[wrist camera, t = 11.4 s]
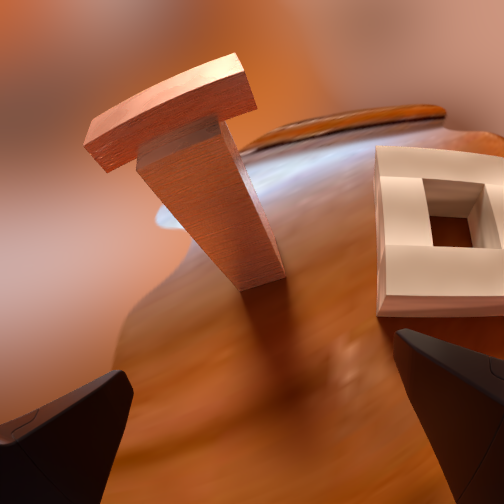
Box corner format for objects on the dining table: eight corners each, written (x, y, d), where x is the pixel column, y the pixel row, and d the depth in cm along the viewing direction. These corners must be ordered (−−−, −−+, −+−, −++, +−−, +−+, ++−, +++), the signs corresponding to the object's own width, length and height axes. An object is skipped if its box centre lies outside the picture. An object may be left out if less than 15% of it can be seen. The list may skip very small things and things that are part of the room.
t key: (293, 230, 21) (232, 47, 9) (307, 270, 19) (248, 79, 8) (213, 257, 22) (95, 110, 10) (220, 297, 20) (78, 158, 8)
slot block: (510, 315, 13) (541, 294, 10) (376, 316, 16) (386, 294, 13) (487, 191, 18) (503, 157, 14) (373, 184, 21) (375, 145, 17)
